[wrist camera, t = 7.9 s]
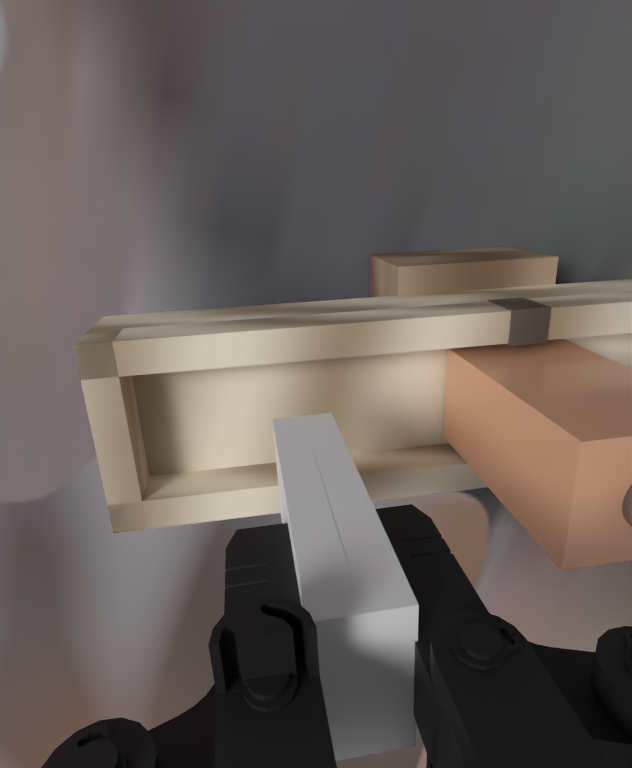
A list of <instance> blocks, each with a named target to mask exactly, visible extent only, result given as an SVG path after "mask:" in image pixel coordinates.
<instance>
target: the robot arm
mask: <svg viewBox="0 0 632 768" xmlns="http://www.w3.org/2000/svg"><path fill="white" fill-rule="evenodd" d="M272 423H273V434H274V445H275V456H276V467H277V478H278V489H279V500H280V511H281V517H282V524H276V525H269V526H262V527H254V528H246V529H239V530H236V532H235V534H234V536H233V537H232V539H231V540H230V542H229V544H228V546H227V547H226V563H225V569H226V572H225V610H224V615H223V617H222V618H221V619H220V620H219V622H218V623H217V624H216V625H215V627H214V628H213V631H212V635H211V638H210V642H209V651H210V657H211V663H212V669H213V675H214V681H215V684H214V685H213V687H212V688H211V689H210V691H209V692H208V693H207V695H206V696H205V697H204V698H202V699H201V700H200V701H199V702H198V703H197V704H196V705H195V706H194V707H192V708H190V709H189V710H187V711H186V712H184V713H182V714H181V715H179V716H177V717H175V718H173V719H171V720H169V721H167V722H165V723H163V724H161V725H159V726H157V727H155V728H153V729H151V730H149V731H147V730H146V729H145V728H144V727H143V726H142V725H141V724H140V723H139V722H136V721H132V720H128V719H125V718H115V719H108V720H101V721H98V722H96V723H94V724H91V725H89V726H87V727H85V728H83V729H81V730H79V731H77V732H75V733H74V734H73V735H72V736H70V737H69V738H68V739H67V740H66V741H64V742H63V743H62V744H61V745H60V746H59V747H57V748H56V749H55V750H54V752H53V753H52V754H51V756H50V757H49V758H48V760H47V761H46V762H45V764H44V765H43V766H42V768H337V767H336V761H339V760H344V759H349V758H354V757H359V756H364V755H369V754H375V753H380V752H385V751H390V750H395V749H400V748H405V747H410V746H415V745H416V723H417V726H418V729H419V732H420V734H421V737H422V740H423V743H424V746H425V749H426V752H427V766H426V768H632V627H629V626H623V627H619V628H614V629H609V630H608V631H606V632H605V633H604V634H603V635H602V636H601V637H600V638H598V642H597V647H596V652H587V651H578V650H570V649H561V648H552V647H547V646H542V645H537V644H534V643H531V642H529V641H527V640H526V638H525V637H524V636H523V635H522V634H521V633H520V632H519V631H518V630H517V629H516V628H515V627H514V626H513V625H511V624H510V623H508V622H506V621H505V620H503V619H501V618H500V617H498V616H495V615H491V614H490V613H489V612H488V611H487V609H486V607H485V606H484V604H483V602H482V601H481V599H480V598H479V596H478V594H477V593H476V591H475V589H474V588H473V586H472V585H471V583H470V581H469V580H468V578H467V576H466V575H465V573H464V572H463V570H462V568H461V567H460V565H459V563H458V562H457V560H456V559H455V557H454V555H453V554H451V552H450V549H449V547H448V546H447V544H446V542H445V541H444V539H442V538H441V534H440V533H439V531H438V529H437V528H436V526H435V524H434V523H433V521H432V519H431V518H430V517H428V516H427V515H426V514H424V513H423V512H422V511H420V510H419V509H417V508H416V507H414V506H413V505H412V504H411V505H403V506H396V507H388V508H381V509H375V508H374V505H373V503H372V501H371V499H370V497H369V494H368V492H367V490H366V488H365V486H364V483H363V481H362V479H361V477H360V475H359V472H358V470H357V468H356V466H355V464H354V461H353V459H352V457H351V455H350V453H349V450H348V448H347V446H346V444H345V442H344V439H343V437H342V435H341V433H340V431H339V428H338V426H337V424H336V422H335V420H334V418H333V415H332V413H324V414H315V415H306V416H297V417H288V418H279V419H272Z"/></svg>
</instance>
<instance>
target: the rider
mask: <svg viewBox="0 0 632 768" xmlns="http://www.w3.org/2000/svg"><path fill="white" fill-rule="evenodd" d="M443 436H444V438H445V439H446V440H447V441H448V442H449V443H450V444H451V446H452V447H453V448H454V449H455V450H456V451H457V452H458V453H459V455H460V456H461V457H462V458H463V459H464V460H465V461H466V463H467V464H468V465H469V466H470V467H471V468H472V469H473V471H474V472H475V473H476V474H477V475H478V476H479V477H480V479H481V480H482V481H483V482H484V483H485V484H486V485H487V486H488V488H489V489H490V490H491V491H492V492H493V493H494V494H495V496H496V497H497V498H498V499H499V500H500V501H501V502H502V504H503V505H504V506H505V507H506V508H507V509H508V510H509V512H510V513H511V514H512V515H513V516H514V517H515V518H516V519H517V521H518V522H519V523H520V524H521V525H522V526H523V527H524V529H525V530H526V531H527V532H528V533H529V534H530V535H531V537H532V538H533V539H534V540H535V541H536V542H537V543H538V545H539V546H540V547H541V548H542V549H543V550H544V551H545V552H546V554H547V555H548V556H549V557H550V558H551V559H552V560H553V562H554V563H555V564H556V565H557V566H558V567H559V568H560V570H561V571H563V570H570V569H577V568H584V567H591V566H597V565H604V564H611V563H618V562H625V561H631V560H632V368H629V367H627V366H625V365H622V364H620V363H618V362H615V361H613V360H611V359H608V358H606V357H604V356H601V355H599V354H597V353H594V352H592V351H590V350H587V349H585V348H583V347H581V346H578V345H576V344H574V343H571V342H569V341H567V340H564V339H555V340H547V343H539V344H527V345H515V346H509V345H507V344H497V345H485V346H473V347H462V348H450V349H447V354H446V374H445V394H444V414H443Z"/></svg>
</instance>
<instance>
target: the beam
mask: <svg viewBox="0 0 632 768" xmlns="http://www.w3.org/2000/svg"><path fill="white" fill-rule="evenodd" d="M557 265H558V256H552V255H547V254H541V253H536V252H530V251H525V250H519V249H514V248H508V247H492V248H475V249H458V250H442V251H425V252H408V253H392V254H375V255H370V298H356V299H342V300H327V301H313V302H299V303H285V304H271V305H257V306H243V307H229V308H215V309H200V310H186V311H172V312H158V313H144V314H130V315H116V316H104V317H103V318H102V319H101V320H100V321H98V322H97V323H96V324H95V325H94V326H93V327H92V328H91V329H90V330H89V331H88V332H86V333H85V334H84V335H83V336H82V337H81V338H80V339H79V340H78V341H77V342H76V343H75V344H73V346H74V351H75V356H76V360H77V365H78V370H79V374H80V379H81V384H82V388H83V393H84V398H85V402H86V407H87V412H88V416H89V421H90V426H91V430H92V435H93V440H94V444H95V449H96V454H97V458H98V463H99V467H100V472H101V477H102V482H103V486H104V491H105V495H106V500H107V504H108V509H109V514H110V519H111V524H112V528H113V532H114V533H119V532H126V531H135V530H143V529H151V528H159V527H167V526H176V525H184V524H192V523H201V522H209V521H216V520H225V519H233V518H241V517H249V516H257V515H265V514H273V513H281V511H280V500H279V489H278V478H277V467H276V456H275V445H274V434H273V423H272V419H279V418H288V417H297V416H306V415H315V414H324V413H332V415H333V418H334V420H335V422H336V424H337V426H338V428H339V431H340V433H341V435H342V437H343V439H344V442H345V444H346V446H347V448H348V450H349V453H350V455H351V457H352V459H353V461H354V464H355V466H356V468H357V470H358V472H359V475H360V477H361V479H362V481H363V483H364V486H365V488H366V490H367V492H368V494H369V497H370V499H371V501H380V500H388V499H396V498H404V497H413V496H421V495H429V494H437V493H445V492H453V491H462V490H470V489H478V488H486V487H488V486H487V485H486V484H485V483H484V482H483V481H482V480H481V479H480V477H479V476H478V475H477V474H476V473H475V472H474V471H473V469H472V468H471V467H470V466H469V465H468V464H467V463H466V461H465V460H464V459H463V458H462V457H461V456H460V455H459V453H458V452H457V451H456V450H455V449H454V448H453V447H452V446H451V444H450V443H449V442H448V441H447V440H446V439H445V438H444V436H443V414H444V394H445V374H446V354H447V349H450V348H462V347H473V346H485V345H497V344H507V345H509V346H515V345H527V344H539V343H547V340H555V339H564V340H567V341H569V342H571V343H574V344H576V345H578V346H581V347H583V348H585V349H587V350H590V351H592V352H594V353H597V354H599V355H601V356H604V357H606V358H608V359H611V360H613V361H615V362H618V363H620V364H622V365H625V366H627V367H629V368H632V279H624V280H610V281H596V282H582V283H567V284H555V282H556V273H557Z"/></svg>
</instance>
